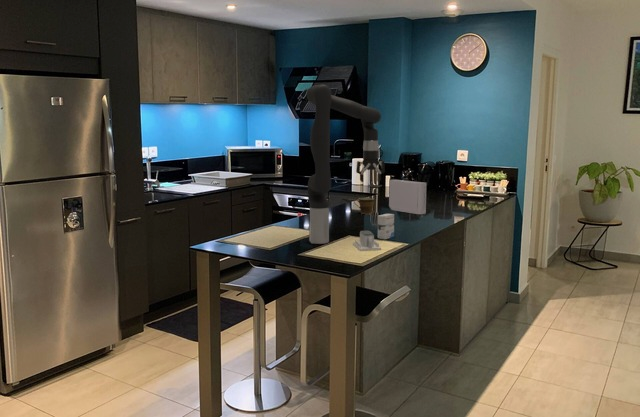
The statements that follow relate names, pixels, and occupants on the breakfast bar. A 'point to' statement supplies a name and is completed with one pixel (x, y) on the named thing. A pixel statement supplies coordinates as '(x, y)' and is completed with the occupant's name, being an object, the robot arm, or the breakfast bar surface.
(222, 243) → the breakfast bar surface
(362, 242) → the drive
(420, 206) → the game console
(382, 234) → the ink box
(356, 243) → the grey peg stand
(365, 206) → the ceramic cup
